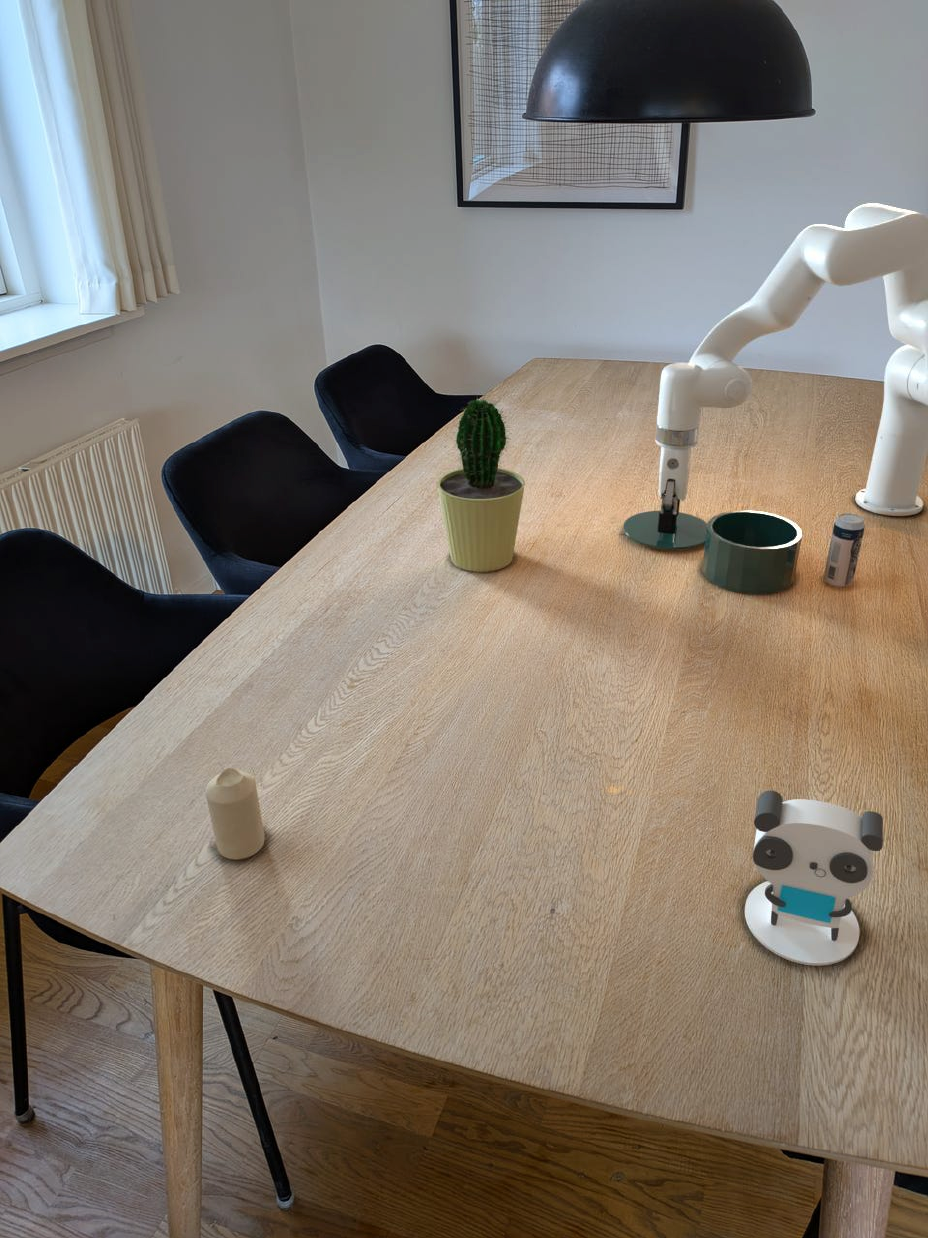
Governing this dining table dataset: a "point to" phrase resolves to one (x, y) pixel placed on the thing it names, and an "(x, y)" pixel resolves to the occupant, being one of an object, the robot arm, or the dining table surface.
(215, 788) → the candle
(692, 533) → the lid
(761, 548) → the pot
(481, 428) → the potted cactus
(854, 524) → the beer can
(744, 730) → the dining table surface
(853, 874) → the panda figurine
